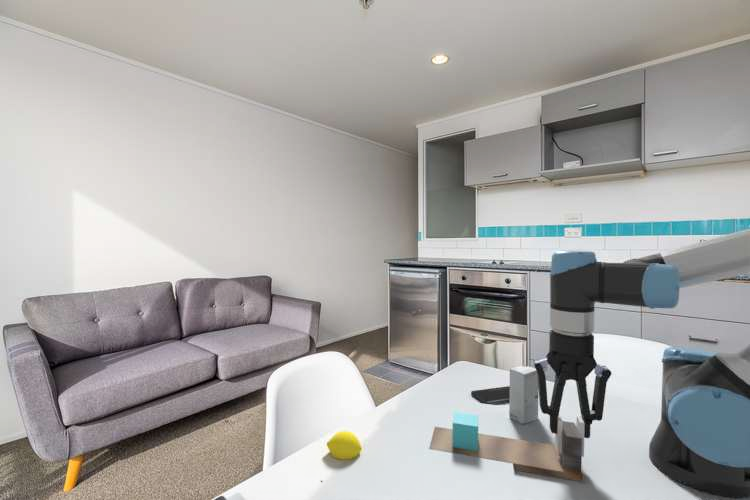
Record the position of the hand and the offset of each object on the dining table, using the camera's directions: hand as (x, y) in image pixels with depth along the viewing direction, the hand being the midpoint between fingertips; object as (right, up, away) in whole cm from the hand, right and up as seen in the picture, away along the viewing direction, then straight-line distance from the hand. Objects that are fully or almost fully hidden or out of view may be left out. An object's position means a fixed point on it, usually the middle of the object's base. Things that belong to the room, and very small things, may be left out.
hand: (569, 450), depth 70 cm
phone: (-2, -3, +31) cm, 31 cm away
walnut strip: (-12, -3, +4) cm, 13 cm away
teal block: (-19, -1, +6) cm, 20 cm away
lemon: (-44, -3, +2) cm, 44 cm away
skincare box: (-1, -3, +19) cm, 19 cm away
